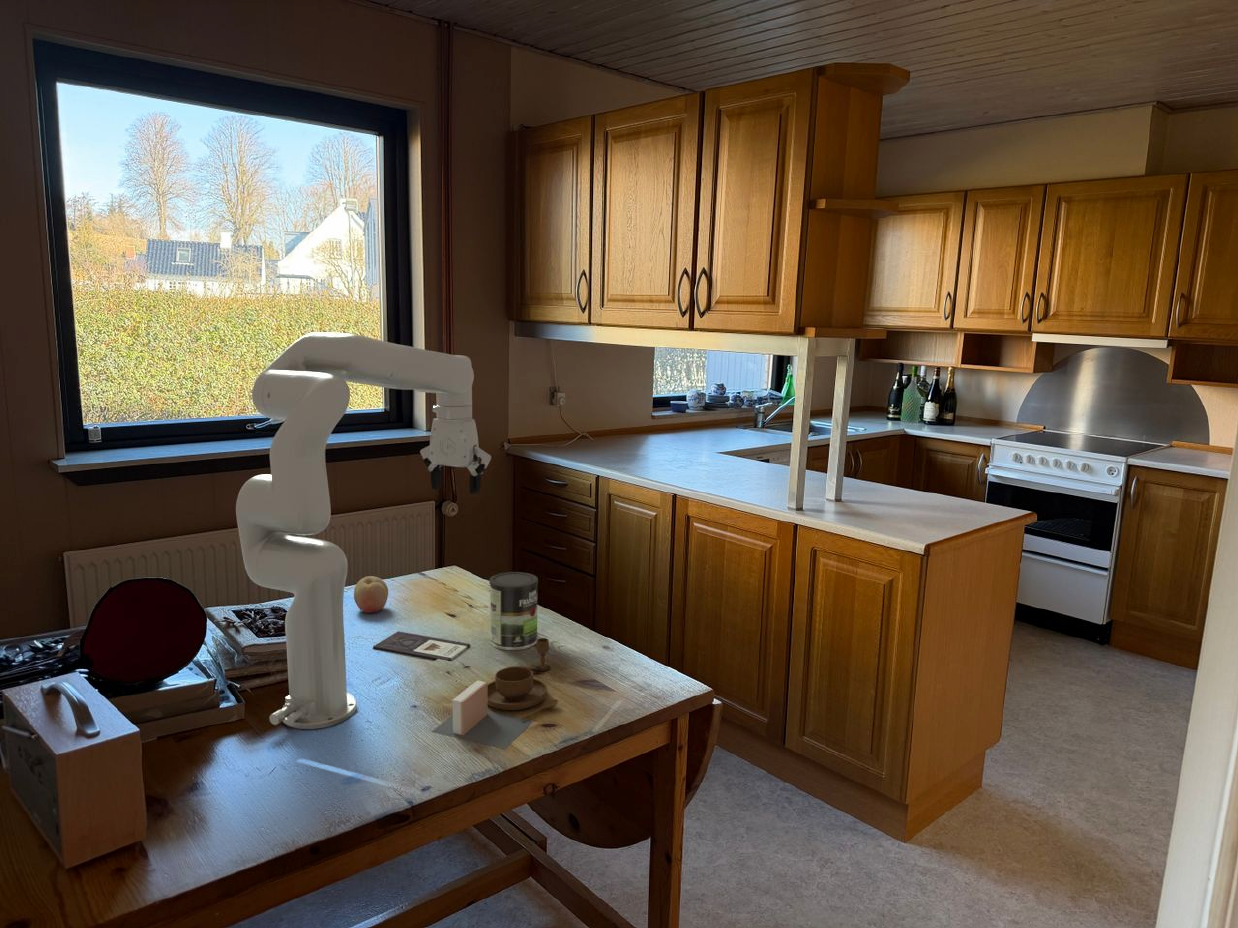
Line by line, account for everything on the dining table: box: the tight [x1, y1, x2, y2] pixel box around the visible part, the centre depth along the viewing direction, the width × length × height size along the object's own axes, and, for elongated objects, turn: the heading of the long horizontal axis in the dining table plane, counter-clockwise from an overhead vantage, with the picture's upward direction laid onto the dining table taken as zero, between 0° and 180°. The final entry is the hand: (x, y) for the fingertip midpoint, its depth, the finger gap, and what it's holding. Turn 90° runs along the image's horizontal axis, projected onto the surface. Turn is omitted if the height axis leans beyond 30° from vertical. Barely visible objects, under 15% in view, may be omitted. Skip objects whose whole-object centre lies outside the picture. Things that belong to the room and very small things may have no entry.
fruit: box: [353, 575, 389, 614], centre depth 194 cm, size 8×8×8 cm
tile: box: [452, 680, 489, 735], centre depth 142 cm, size 8×2×6 cm, turn 158°
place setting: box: [487, 637, 559, 719], centre depth 154 cm, size 18×20×6 cm
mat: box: [431, 710, 534, 750], centre depth 141 cm, size 10×14×1 cm
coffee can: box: [489, 571, 539, 651], centre depth 178 cm, size 10×10×14 cm
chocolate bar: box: [372, 630, 471, 662], centre depth 174 cm, size 9×1×18 cm
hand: (455, 490), depth 181 cm, fingers open, 9 cm apart
